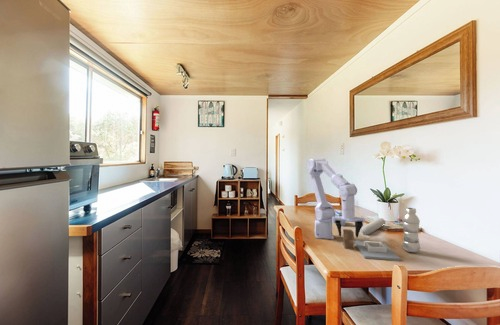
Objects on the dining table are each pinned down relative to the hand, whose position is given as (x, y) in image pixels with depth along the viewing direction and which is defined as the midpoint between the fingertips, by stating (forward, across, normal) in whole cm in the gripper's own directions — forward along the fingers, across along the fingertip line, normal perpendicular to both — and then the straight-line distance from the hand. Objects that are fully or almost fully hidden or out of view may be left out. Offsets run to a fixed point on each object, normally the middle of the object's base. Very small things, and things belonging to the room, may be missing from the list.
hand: (348, 236), depth 108 cm
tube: (+6, +20, +29) cm, 36 cm away
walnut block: (+5, 0, 0) cm, 5 cm away
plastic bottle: (+6, +27, -1) cm, 27 cm away
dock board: (+5, +11, -3) cm, 12 cm away
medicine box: (+5, +3, +38) cm, 39 cm away
